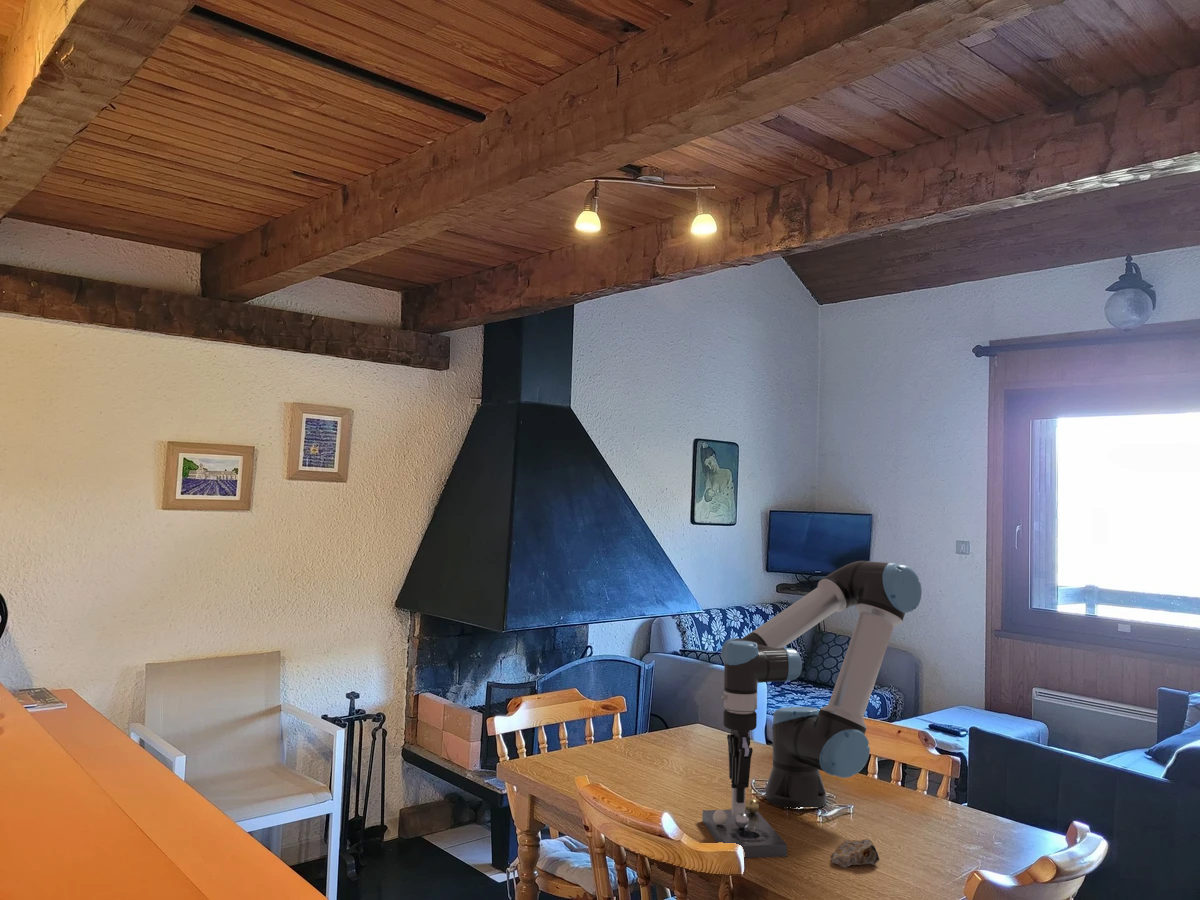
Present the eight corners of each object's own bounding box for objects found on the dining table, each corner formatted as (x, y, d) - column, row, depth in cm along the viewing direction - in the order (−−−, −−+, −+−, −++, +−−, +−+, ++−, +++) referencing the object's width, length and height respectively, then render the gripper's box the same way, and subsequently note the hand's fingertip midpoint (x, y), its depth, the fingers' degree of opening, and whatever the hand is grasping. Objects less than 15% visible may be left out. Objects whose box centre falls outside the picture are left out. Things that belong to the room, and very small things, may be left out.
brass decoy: (756, 810, 209) (756, 796, 210) (760, 815, 206) (760, 801, 206) (743, 810, 209) (743, 796, 209) (747, 815, 206) (747, 801, 206)
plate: (702, 821, 208) (702, 810, 209) (755, 819, 210) (755, 809, 210) (727, 858, 187) (727, 846, 187) (786, 856, 188) (787, 844, 188)
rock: (871, 855, 191) (825, 844, 192) (878, 831, 190) (831, 820, 190) (879, 881, 182) (831, 870, 183) (886, 857, 181) (838, 845, 182)
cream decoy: (725, 822, 201) (725, 807, 201) (728, 827, 198) (729, 812, 198) (711, 822, 201) (711, 807, 201) (714, 827, 198) (715, 812, 198)
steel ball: (750, 827, 196) (747, 829, 198) (750, 812, 197) (747, 814, 200) (736, 826, 196) (733, 828, 198) (736, 811, 197) (733, 813, 200)
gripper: (717, 703, 209) (715, 806, 207) (731, 716, 196) (729, 826, 194) (748, 703, 209) (746, 805, 208) (764, 716, 196) (762, 825, 195)
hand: (738, 815), depth 201 cm, fingers closed
